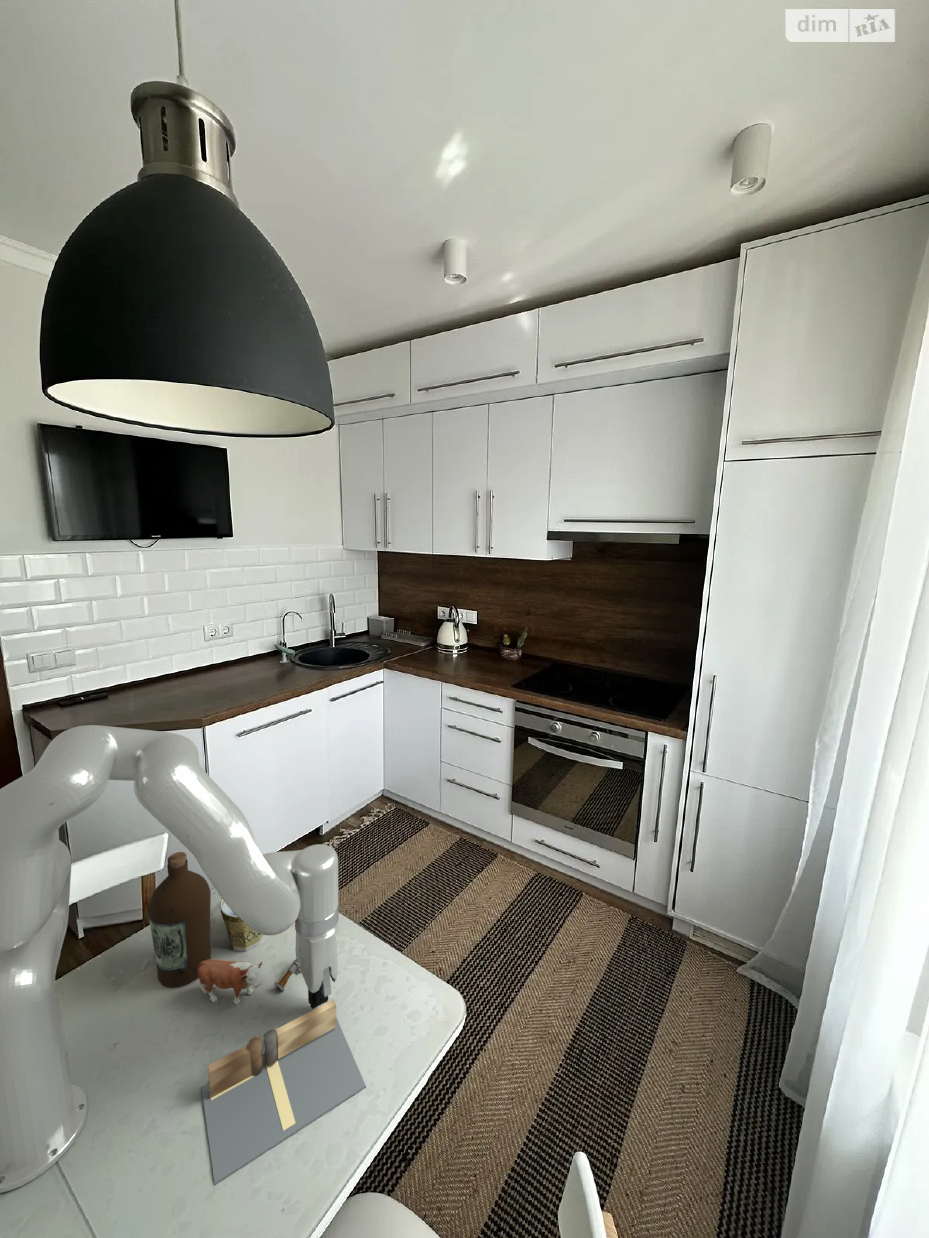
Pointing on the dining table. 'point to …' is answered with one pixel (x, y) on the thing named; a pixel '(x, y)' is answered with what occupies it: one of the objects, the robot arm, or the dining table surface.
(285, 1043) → the tan wooden board
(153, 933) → the olive oil
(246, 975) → the bull figurine
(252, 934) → the ceramic cup
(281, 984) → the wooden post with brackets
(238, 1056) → the fence section
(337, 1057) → the card
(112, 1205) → the dining table surface
